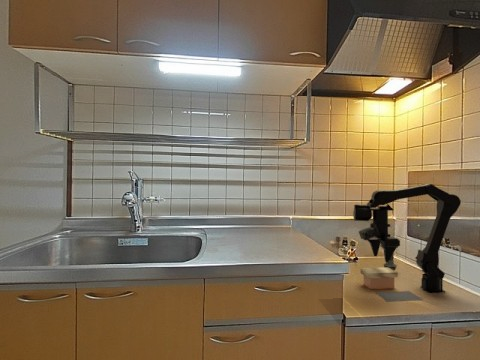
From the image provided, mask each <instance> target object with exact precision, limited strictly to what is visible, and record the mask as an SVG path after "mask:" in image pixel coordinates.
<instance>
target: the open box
mask: <svg viewBox="0 0 480 360" xmlns="http://www.w3.org/2000/svg"><path fill="white" fill-rule="evenodd" d="M363 285H364V286H366V287H367V288H368V289H369V290H385V289H386V290H388V289H395V277H392V278H367V277H366V276H364V275H363Z"/></svg>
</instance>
